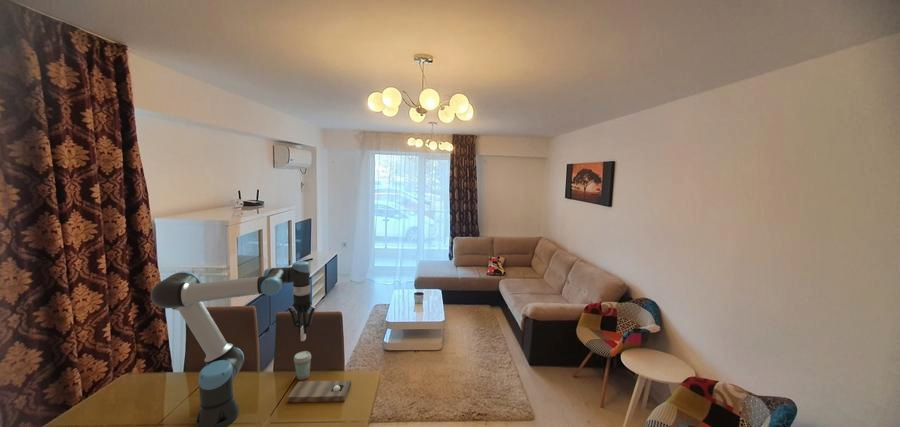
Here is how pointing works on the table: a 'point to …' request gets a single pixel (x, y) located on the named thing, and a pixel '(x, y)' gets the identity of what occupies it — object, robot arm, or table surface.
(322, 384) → the deck
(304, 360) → the coffee cup
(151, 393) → the table surface
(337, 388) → the ball
